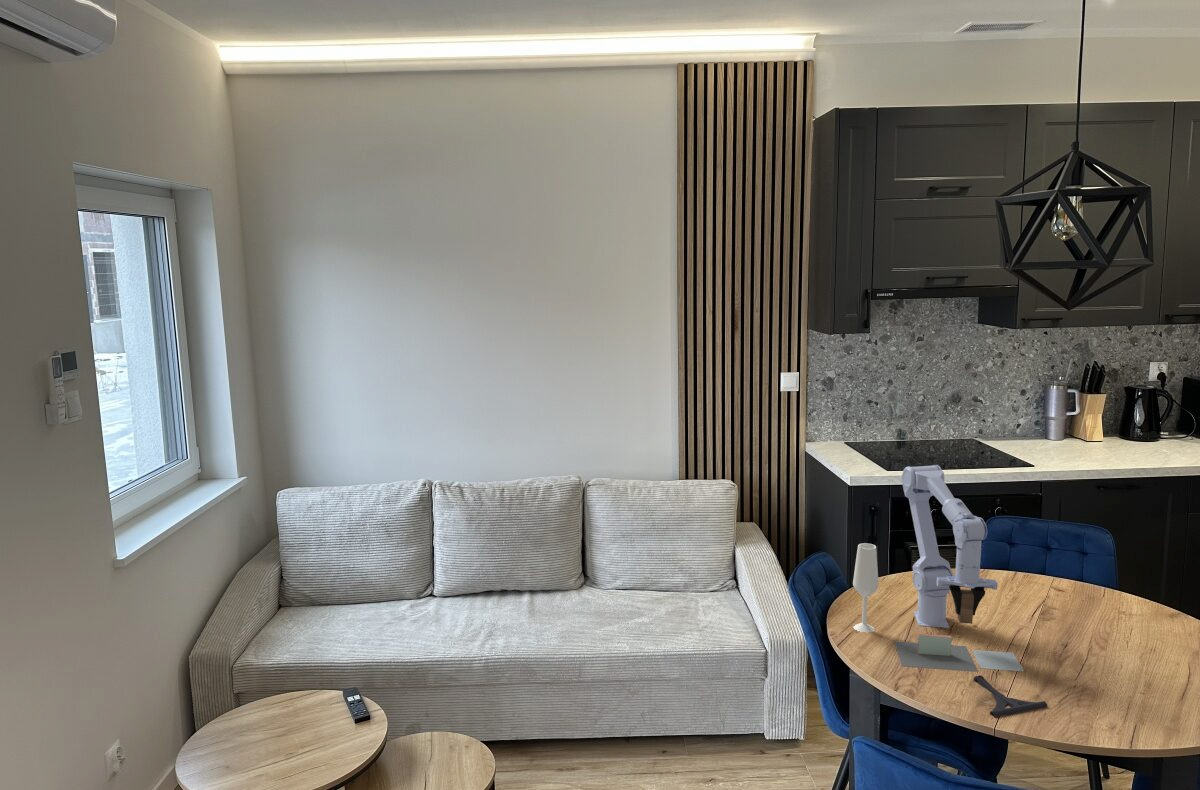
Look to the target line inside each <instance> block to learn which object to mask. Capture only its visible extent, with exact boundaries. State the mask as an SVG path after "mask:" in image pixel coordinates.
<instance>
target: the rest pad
mask: <svg viewBox="0 0 1200 790" xmlns="http://www.w3.org/2000/svg"><path fill="white" fill-rule="evenodd" d="M971 652H972V653H973V656H974V658H975V660H976V662H977V663H978V666H979V667H980V669H984V670H1001V671H1012V672H1014V671H1015V672H1025V671H1024V669H1023V667H1022V666H1021V664H1020V662H1019V660H1018V658H1017V657H1016V655H1015V653H1014V652H1008V651H1007V652H1005V651H993V650H989V651H988V650H979V649H978V650H977V649H971Z"/></svg>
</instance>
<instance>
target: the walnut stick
mask: <svg viewBox="0 0 1200 790" xmlns="http://www.w3.org/2000/svg"><path fill="white" fill-rule="evenodd" d="M960 589H961V588H960ZM961 592H962V596H961V602H960V615H959V614H957V620H958V622H959V623H960V624H971V625H972V624H973V620H974V619H973V618H974V617H973V616H974V615H973V605H974V593H973V592H972V590H971V589H963V588H962V589H961Z"/></svg>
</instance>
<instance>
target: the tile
mask: <svg viewBox="0 0 1200 790" xmlns="http://www.w3.org/2000/svg"><path fill="white" fill-rule="evenodd" d="M952 640H953V639H952V636H951V635H945V634H944V635H943V634H942V635H941V634H926V633H917V643H918V644H917V653H918V654H928V655H942V656H951V645H952V642H953V641H952Z"/></svg>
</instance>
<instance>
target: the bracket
mask: <svg viewBox="0 0 1200 790" xmlns="http://www.w3.org/2000/svg"><path fill="white" fill-rule="evenodd" d="M973 681H974V682H978V685H980V686H981V687H983V688H984V689H986V690H987V691H988V692H990V693H991V695H992V697H993V699H994V701H995V707H994V708H992V710H990V712H989V715H990V716H993V718H1000V717H1004V716H1005V717H1006V716H1011V715H1016V714H1019V713H1020V714H1021V713H1025V712H1030V711H1035V709H1036V710H1040V708H1041V709H1045V708H1048V703H1047V702H1046V701H1045V700H1042V701H1038V702H1035V701H1027V700H1023V699H1022V700H1021V699H1017V698H1013V697H1006V696H1005V694H1003V693H1001V692H999V690H997V689H996V688H995V687H993V686H992V685H991V684H990V683H989V682H988V681H987V679H985V677H984V676H983V675H976V676H974V677H973ZM1006 706H1008V707H1006ZM992 714H993V715H992Z"/></svg>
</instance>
